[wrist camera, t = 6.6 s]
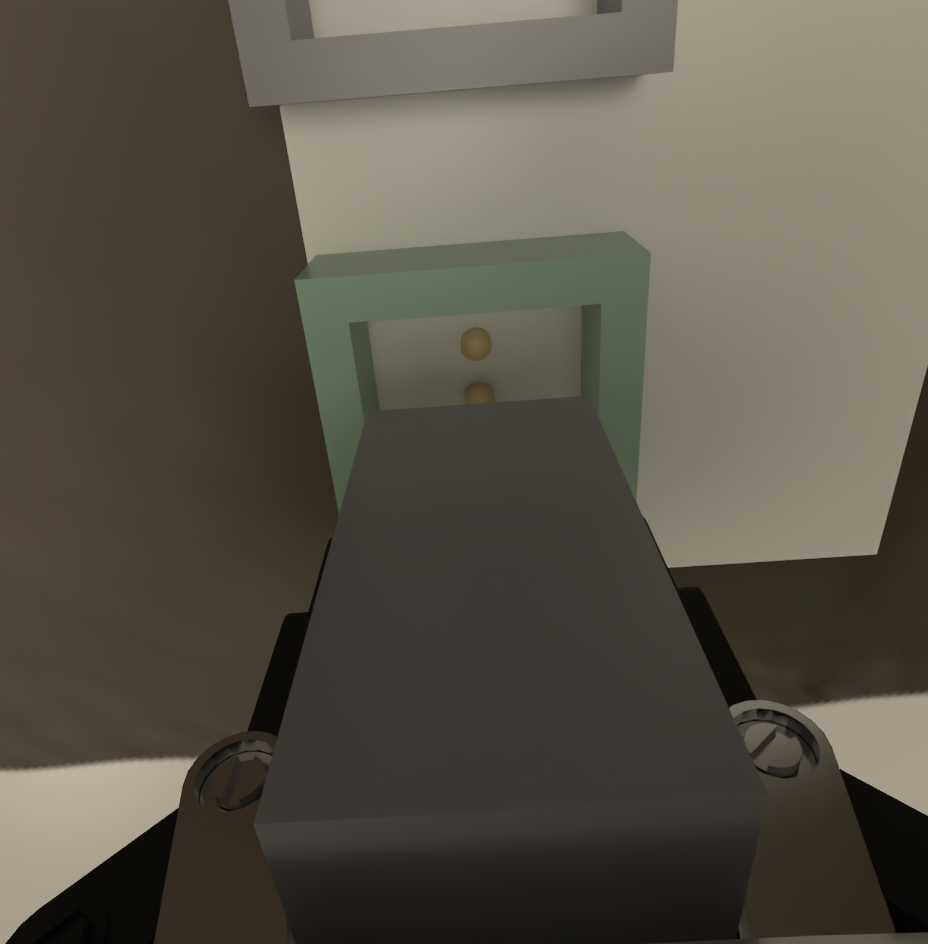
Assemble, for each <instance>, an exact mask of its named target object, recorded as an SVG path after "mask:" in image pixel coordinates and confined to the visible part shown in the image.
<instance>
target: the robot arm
mask: <svg viewBox="0 0 928 944" xmlns="http://www.w3.org/2000/svg"><path fill="white" fill-rule="evenodd" d="M643 518H644V520H645V522H646V525H647V527H648V529H649V531H650V534H651V536H652V538H653V540H654V543H655V545H656V547H657V549H658V551H659V554H660V556H661V558H662V560H663V563H664V565H665V567H666V569H667V571H668V574H669V576H670V578H671V580H672V583H673V585H674V587H675V589H676V591H677V594H678V596H679V598H680V600H681V603H682V605H683V607H684V609H685V611H686V614H687V616H688V618H689V620H690V623H691V625H692V627H693V629H694V632H695V634H696V636H697V638H698V640H699V643H700V645H701V647H702V649H703V652H704V654H705V656H706V658H707V660H708V663H709V665H710V667H711V669H712V672H713V674H714V676H715V678H716V680H717V683H718V685H719V687H720V689H721V692H722V694H723V696H724V698H725V700H726V703H727V705H728V707H729V709H730V712H731V714H732V716H733V718H734V721H735V723H736V725H737V727H738V729H739V732H740V734H741V736H742V738H743V741H744V743H745V745H746V747H747V749H748V752H749V754H750V756H751V758H752V761H753V763H754V765H755V767H756V769H757V772H758V774H759V776H760V778H761V781H762V783H763V785H764V787H765V789H766V792H767V794H768V798H767V802H766V807H765V811H764V816H763V820H762V825H761V829H760V834H759V838H758V843H757V847H756V852H755V856H754V861H753V865H752V870H751V874H750V879H749V883H748V888H747V892H746V897H745V901H744V906H743V910H742V915H741V919H740V924H739V928H738V933H737V937H736V939H732V940H711V941H691V942H670V943H649V944H928V816H927V815H925V814H923V813H921V812H919V811H917V810H915V809H914V808H912V807H910V806H908V805H906V804H904V803H902V802H901V801H899V800H897V799H895V798H893V797H891V796H889V795H887V794H886V793H884V792H882V791H880V790H878V789H876V788H874V787H872V786H871V785H869V784H867V783H865V782H863V781H861V780H859V779H857V778H856V777H854V776H852V775H850V774H848V773H846V772H844V771H843V770H841V769H839V766H838V764H837V761H836V758H835V755H834V752H833V749H832V746H831V745H830V743H829V741H828V739H827V737H826V736H825V734H824V732H823V731H822V730H821V729H820V728H819V727H818V726H817V725H816V724H815V723H814V722H813V721H812V720H811V719H809V718H808V717H806V716H805V715H803V714H802V713H800V712H799V711H797V710H795V709H793V708H790V707H788V706H785V705H783V704H780V703H775V702H770V701H765V700H756V698H755V696H754V694H753V692H752V690H751V688H750V686H749V684H748V682H747V680H746V678H745V676H744V674H743V672H742V670H741V668H740V666H739V664H738V662H737V660H736V658H735V656H734V654H733V652H732V650H731V648H730V646H729V644H728V642H727V640H726V638H725V636H724V634H723V632H722V630H721V628H720V626H719V624H718V622H717V620H716V618H715V616H714V614H713V612H712V610H711V608H710V606H709V604H708V602H707V600H706V598H705V596H704V594H703V593H702V591H701V589H699V588H698V587H685V588H677V587H676V585H675V582H674V580H673V578H672V576H671V574H670V571H669V569H668V567H667V565H666V563H665V560H664V558H663V556H662V554H661V552H660V549H659V547H658V545H657V543H656V541H655V538H654V536H653V534H652V532H651V529H650V527H649V525H648V523H647V521H646V519H645V517H643ZM331 542H332V538H330V539H329V541H328V544H327V548H326V552H325V555H324V559H323V562H322V566H321V569H320V573H319V576H318V580H317V583H316V587H315V591H314V594H313V598H312V601H311V605H310V608H309V612H304V613H289V614H288V615H287V616H286V617H285V619H284V621H283V623H282V627H281V630H280V633H279V636H278V639H277V642H276V645H275V648H274V651H273V654H272V657H271V660H270V663H269V667H268V670H267V673H266V676H265V679H264V682H263V685H262V688H261V691H260V694H259V697H258V700H257V703H256V706H255V710H254V713H253V716H252V719H251V722H250V725H249V728H248V731H247V732H241V733H238V734H235V735H232V736H228V737H226V738H224V739H222V740H220V741H219V742H217V743H215V744H213V745H212V746H210V747H209V748H208V749H207V750H206V751H205V752H203V753H202V754H201V755H200V756H199V757H198V758H197V759H196V761H195V762H194V764H193V765H192V766H191V768H190V769H189V771H188V773H187V776H186V778H185V781H184V784H183V787H182V794H181V799H180V804H179V808H178V809H176V810H175V811H174V812H172V813H171V814H169V815H168V816H167V817H165V818H164V819H162V820H161V821H160V822H158V823H157V824H155V825H154V826H153V827H151V828H150V829H149V830H147V831H146V832H144V833H143V834H142V835H140V836H139V837H138V838H136V839H135V840H133V841H132V842H131V843H129V844H128V845H127V846H125V847H124V848H122V849H121V850H120V851H118V852H117V853H116V854H114V855H113V856H111V857H110V858H109V859H107V860H106V861H104V862H103V863H102V864H100V865H99V866H98V867H96V868H95V869H93V870H92V871H91V872H90V873H88V874H87V875H85V876H84V877H82V878H81V879H80V880H78V881H77V882H75V883H74V884H73V885H71V886H70V887H69V888H67V889H66V890H64V891H63V892H62V893H60V894H59V895H58V896H56V897H55V898H54V899H52V900H51V901H49V902H48V903H47V904H45V905H44V906H42V907H41V908H40V909H38V910H37V911H36V912H35V913H34V914H33V915H31V916H30V917H29V918H28V919H27V920H26V921H25V922H23V923H22V924H21V925H20V926H19V927H18V929H17V930H16V931H15V933H14V934H13V935H12V936H11V938H10V939H9V940H8V941H7V942H6V944H295V941H294V938H293V935H292V932H291V929H290V927H289V924H288V921H287V918H286V915H285V912H284V910H283V907H282V904H281V901H280V898H279V895H278V893H277V890H276V887H275V884H274V881H273V878H272V876H271V873H270V870H269V867H268V864H267V861H266V859H265V856H264V853H263V850H262V847H261V844H260V842H259V839H258V836H257V833H256V830H255V827H254V821H255V817H256V814H257V810H258V806H259V803H260V799H261V796H262V792H263V788H264V785H265V781H266V777H267V774H268V770H269V767H270V763H271V759H272V756H273V752H274V748H275V745H276V741H277V738H278V734H279V730H280V727H281V723H282V719H283V716H284V712H285V709H286V705H287V701H288V698H289V694H290V690H291V687H292V683H293V680H294V676H295V672H296V669H297V665H298V661H299V658H300V654H301V651H302V647H303V643H304V640H305V636H306V632H307V629H308V625H309V622H310V618H311V614H312V611H313V607H314V603H315V600H316V596H317V593H318V589H319V585H320V582H321V578H322V574H323V571H324V567H325V564H326V560H327V556H328V553H329V549H330V545H331Z"/></svg>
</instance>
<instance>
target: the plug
mask: <svg viewBox="0 0 928 944" xmlns="http://www.w3.org/2000/svg"><path fill="white" fill-rule="evenodd" d="M767 798H768V794H767V792H766V789H765V787H764V785H763V783H762V781H761V778H760V776H759V774H758V772H757V769H756V767H755V765H754V763H753V761H752V758H751V756H750V754H749V752H748V749H747V747H746V745H745V743H744V741H743V738H742V736H741V734H740V732H739V729H738V727H737V725H736V723H735V721H734V718H733V716H732V714H731V712H730V709H729V707H728V705H727V703H726V700H725V698H724V696H723V694H722V692H721V689H720V687H719V685H718V683H717V680H716V678H715V676H714V674H713V672H712V669H711V667H710V665H709V663H708V660H707V658H706V656H705V654H704V652H703V649H702V647H701V645H700V643H699V640H698V638H697V636H696V634H695V632H694V629H693V627H692V625H691V623H690V620H689V618H688V616H687V614H686V611H685V609H684V607H683V605H682V603H681V600H680V598H679V596H678V594H677V591H676V589H675V587H674V585H673V583H672V580H671V578H670V576H669V574H668V571H667V569H666V567H665V565H664V563H663V560H662V558H661V556H660V554H659V551H658V549H657V547H656V545H655V543H654V540H653V538H652V536H651V534H650V531H649V529H648V527H647V525H646V522H645V520H644V518H643V516H642V514H641V511H640V509H639V507H638V505H637V502H636V500H635V498H634V496H633V494H632V491H631V489H630V487H629V485H628V482H627V480H626V478H625V476H624V474H623V471H622V469H621V467H620V465H619V462H618V460H617V458H616V456H615V454H614V451H613V449H612V447H611V445H610V442H609V440H608V438H607V436H606V433H605V431H604V429H603V427H602V425H601V422H600V420H599V418H598V416H597V413H596V411H595V409H594V407H593V405H592V402H591V400H590V398H589V396H579V397H565V398H551V399H537V400H523V401H509V402H495V403H481V404H466V405H452V406H438V407H424V408H410V409H396V410H382V411H368V412H367V415H366V419H365V422H364V426H363V429H362V433H361V437H360V440H359V444H358V448H357V451H356V455H355V458H354V462H353V466H352V469H351V473H350V477H349V480H348V484H347V487H346V491H345V495H344V498H343V502H342V506H341V509H340V513H339V516H338V520H337V524H336V527H335V531H334V535H333V538H332V542H331V545H330V549H329V553H328V556H327V560H326V564H325V567H324V571H323V574H322V578H321V582H320V585H319V589H318V593H317V596H316V600H315V603H314V607H313V611H312V614H311V618H310V622H309V625H308V629H307V632H306V636H305V640H304V643H303V647H302V651H301V654H300V658H299V661H298V665H297V669H296V672H295V676H294V680H293V683H292V687H291V690H290V694H289V698H288V701H287V705H286V709H285V712H284V716H283V719H282V723H281V727H280V730H279V734H278V738H277V741H276V745H275V748H274V752H273V756H272V759H271V763H270V767H269V770H268V774H267V777H266V781H265V785H264V788H263V792H262V796H261V799H260V803H259V806H258V810H257V814H256V817H255V821H254V827H255V830H256V833H257V836H258V839H259V842H260V844H261V847H262V850H263V853H264V856H265V859H266V861H267V864H268V867H269V870H270V873H271V876H272V878H273V881H274V884H275V887H276V890H277V893H278V895H279V898H280V901H281V904H282V907H283V910H284V912H285V915H286V918H287V921H288V924H289V927H290V929H291V932H292V935H293V938H294V941H295V944H649V943H670V942H691V941H711V940H732V939H736V937H737V933H738V928H739V924H740V919H741V915H742V910H743V906H744V901H745V897H746V892H747V888H748V883H749V879H750V874H751V870H752V865H753V861H754V856H755V852H756V847H757V843H758V838H759V834H760V829H761V825H762V820H763V816H764V811H765V807H766V802H767Z"/></svg>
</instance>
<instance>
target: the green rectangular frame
mask: <svg viewBox="0 0 928 944" xmlns="http://www.w3.org/2000/svg"><path fill="white" fill-rule="evenodd" d="M650 259H651V253H650V252H649V251H648V250H647V249H645V248H644V247H643V246H642V245H641V244H639V243H638V242H637V241H636V240H634V239H633V238H632V237H631V236H629V235H628V234H627V233H626V232H624V231H620V232H607V233H594V234H581V235H568V236H555V237H542V238H529V239H517V240H504V241H491V242H478V243H465V244H452V245H439V246H426V247H413V248H400V249H387V250H375V251H362V252H349V253H336V254H323V255H316V256H315V257H314V258H313V260H312V261H311V262H310V263H309V264H308V265H307V266H306V267H305V269H304V270H303V271H302V272H301V273H300V274H299V275H298V277H297V278H296V279H295V280H294V281H295V286H296V291H297V297H298V302H299V307H300V312H301V318H302V323H303V328H304V333H305V339H306V344H307V349H308V354H309V359H310V365H311V370H312V375H313V380H314V386H315V391H316V396H317V401H318V407H319V412H320V417H321V422H322V427H323V433H324V438H325V443H326V448H327V454H328V459H329V464H330V469H331V475H332V480H333V485H334V490H335V496H336V501H337V506H338V511H339V513H340V509H341V506H342V502H343V498H344V495H345V491H346V487H347V484H348V480H349V477H350V473H351V469H352V466H353V462H354V458H355V455H356V451H357V448H358V444H359V440H360V437H361V433H362V429H363V426H364V422H365V419H366V415H367V412H368V411H380V407H379V401H378V394H377V387H376V380H375V373H374V366H373V359H372V352H371V345H370V338H369V331H368V324H367V321H381V320H394V319H407V318H421V317H434V316H447V315H461V314H474V313H488V312H501V311H514V310H528V309H541V308H555V307H568V306H581V305H582V333H581V396H589V398H590V400H591V402H592V405H593V407H594V409H595V411H596V413H597V416H598V418H599V420H600V422H601V425H602V427H603V429H604V431H605V433H606V436H607V438H608V440H609V442H610V445H611V447H612V449H613V451H614V454H615V456H616V458H617V460H618V462H619V465H620V467H621V469H622V471H623V474H624V476H625V478H626V480H627V482H628V485H629V487H630V489H631V491H632V494H633V496H634V498H635V500H637V483H638V466H639V449H640V431H641V414H642V397H643V380H644V362H645V345H646V328H647V310H648V293H649V276H650ZM491 348H492V343H491V337H490V335H489V334H488V332H487V331H485V330H484V329H482V328H478V327H474V328H470V329H468V330H467V331H465V332H464V334H463V335H462V337H461V351H462V353H463V355H464V356H465V357H466V358H468V359H470V360H473V361H479V360H482V359H484V358H486V357H487V356H488V355H489V353H490V351H491ZM494 402H495V397H494V391H493V389H492V387H491V386H490V385H488V384H487V383H484V382H475V383H472V384H471V385H470V386H468V388H467V389H466V391H465V404H481V403H494Z"/></svg>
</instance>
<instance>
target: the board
mask: <svg viewBox="0 0 928 944" xmlns="http://www.w3.org/2000/svg"><path fill="white" fill-rule="evenodd" d="M228 2H229V7H230V12H231V17H232V22H233V27H234V32H235V37H236V42H237V47H238V52H239V57H240V62H241V67H242V73H243V78H244V83H245V88H246V93H247V98H248V103H249V107H260V106H280V112H281V117H282V123H283V129H284V134H285V140H286V145H287V151H288V156H289V162H290V168H291V173H292V179H293V184H294V190H295V195H296V201H297V206H298V212H299V218H300V223H301V229H302V234H303V240H304V245H305V251H306V257H307V262H308V264H309V263H310V262H311V261H312V260H313V258H314V257H315V256H316V255H323V254H336V253H349V252H362V251H375V250H387V249H400V248H413V247H426V246H439V245H452V244H465V243H478V242H491V241H504V240H517V239H529V238H542V237H555V236H568V235H581V234H594V233H607V232H620V231H624V232H626V233H627V234H628V235H629V236H631V237H632V238H633V239H634V240H636V241H637V242H638V243H639V244H641V245H642V246H643V247H644V248H645V249H647V250H648V251H649V252H650V253H651V259H650V276H649V293H648V310H647V328H646V345H645V362H644V380H643V397H642V414H641V431H640V449H639V466H638V483H637V500H636V502H637V505H638V507H639V509H640V511H641V514H642V516H643V517H645V519H646V521H647V523H648V525H649V527H650V529H651V532H652V534H653V536H654V538H655V541H656V543H657V545H658V547H659V549H660V552H661V554H662V556H663V558H664V560H665V563H666V565H667V567H668V568H672V567H687V566H703V565H718V564H734V563H749V562H765V561H781V560H796V559H812V558H827V557H843V556H858V555H874V554H877V552H878V548H879V544H880V540H881V537H882V533H883V529H884V526H885V522H886V518H887V514H888V511H889V507H890V503H891V500H892V496H893V492H894V488H895V485H896V481H897V477H898V474H899V470H900V466H901V462H902V459H903V455H904V451H905V448H906V444H907V440H908V436H909V433H910V429H911V425H912V422H913V418H914V414H915V410H916V407H917V403H918V399H919V396H920V392H921V388H922V384H923V381H924V377H925V373H926V370H927V366H928V0H228ZM367 324H368V331H369V338H370V345H371V352H372V359H373V366H374V373H375V380H376V387H377V394H378V401H379V407H380V411H382V410H396V409H410V408H424V407H438V406H452V405H466V404H465V391H466V389H467V388H468V386H470V385H471V384H472V383H475V382H484V383H487V384H488V385H490V386H491V387H492V389H493V391H494V397H495V402H509V401H523V400H537V399H551V398H565V397H579V396H581V333H582V305H581V306H568V307H555V308H541V309H528V310H514V311H501V312H488V313H474V314H461V315H447V316H434V317H421V318H407V319H394V320H381V321H367ZM474 327H478V328H482V329H484V330H485V331H487V332H488V334H489V335H490V337H491V343H492V348H491V351H490V353H489V355H488V356H487V357H486V358H484V359H482V360H479V361H473V360H470V359H468V358H466V357H465V356H464V355H463V353H462V351H461V337H462V335H463V334H464V332H465V331H467V330H468V329H470V328H474ZM495 402H494V403H495Z"/></svg>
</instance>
